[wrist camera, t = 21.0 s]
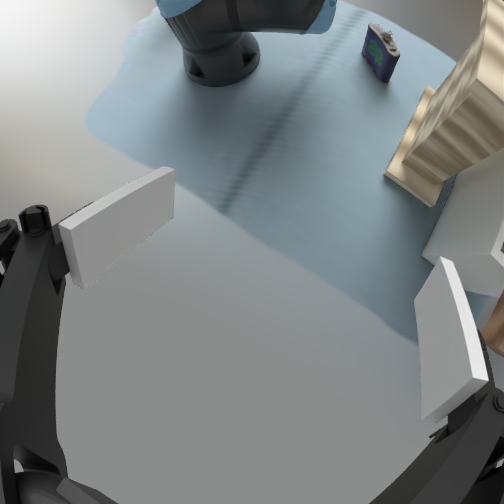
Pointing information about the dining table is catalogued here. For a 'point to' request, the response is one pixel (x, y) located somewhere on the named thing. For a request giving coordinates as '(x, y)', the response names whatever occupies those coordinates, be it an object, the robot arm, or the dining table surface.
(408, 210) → the dining table surface
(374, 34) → the flask
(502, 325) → the walnut block
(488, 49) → the birch pedestal
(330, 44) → the dining table surface
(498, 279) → the white open box
